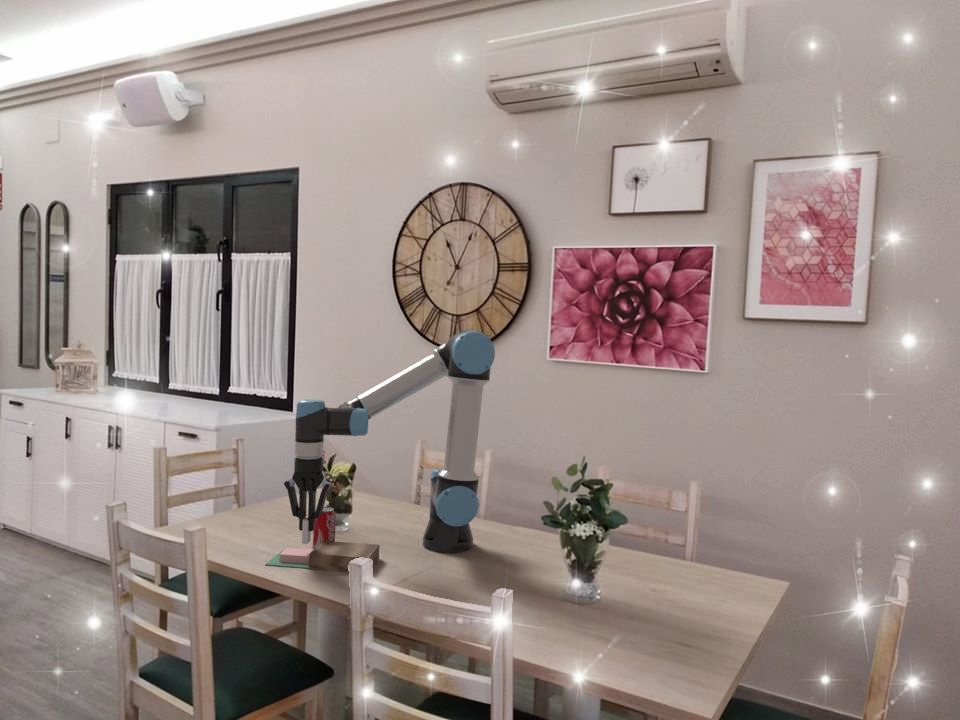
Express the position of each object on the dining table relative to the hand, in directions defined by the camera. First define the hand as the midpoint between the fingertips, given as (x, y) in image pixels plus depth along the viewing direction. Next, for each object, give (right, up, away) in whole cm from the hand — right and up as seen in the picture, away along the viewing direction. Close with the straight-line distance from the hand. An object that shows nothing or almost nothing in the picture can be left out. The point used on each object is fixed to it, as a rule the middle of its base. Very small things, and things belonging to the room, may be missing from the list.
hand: (306, 542), depth 195 cm
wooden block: (+11, -6, -1) cm, 12 cm away
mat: (-3, -5, 0) cm, 6 cm away
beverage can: (+3, -5, +10) cm, 11 cm away
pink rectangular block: (-2, -5, 0) cm, 5 cm away
